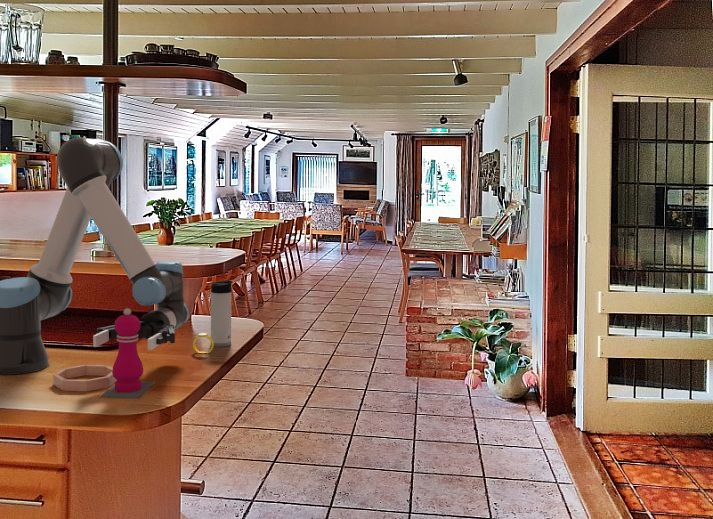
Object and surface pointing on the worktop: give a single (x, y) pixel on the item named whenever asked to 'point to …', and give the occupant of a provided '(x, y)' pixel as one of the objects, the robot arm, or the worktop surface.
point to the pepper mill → (127, 354)
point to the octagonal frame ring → (84, 385)
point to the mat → (132, 395)
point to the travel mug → (221, 313)
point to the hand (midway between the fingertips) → (121, 343)
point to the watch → (203, 336)
